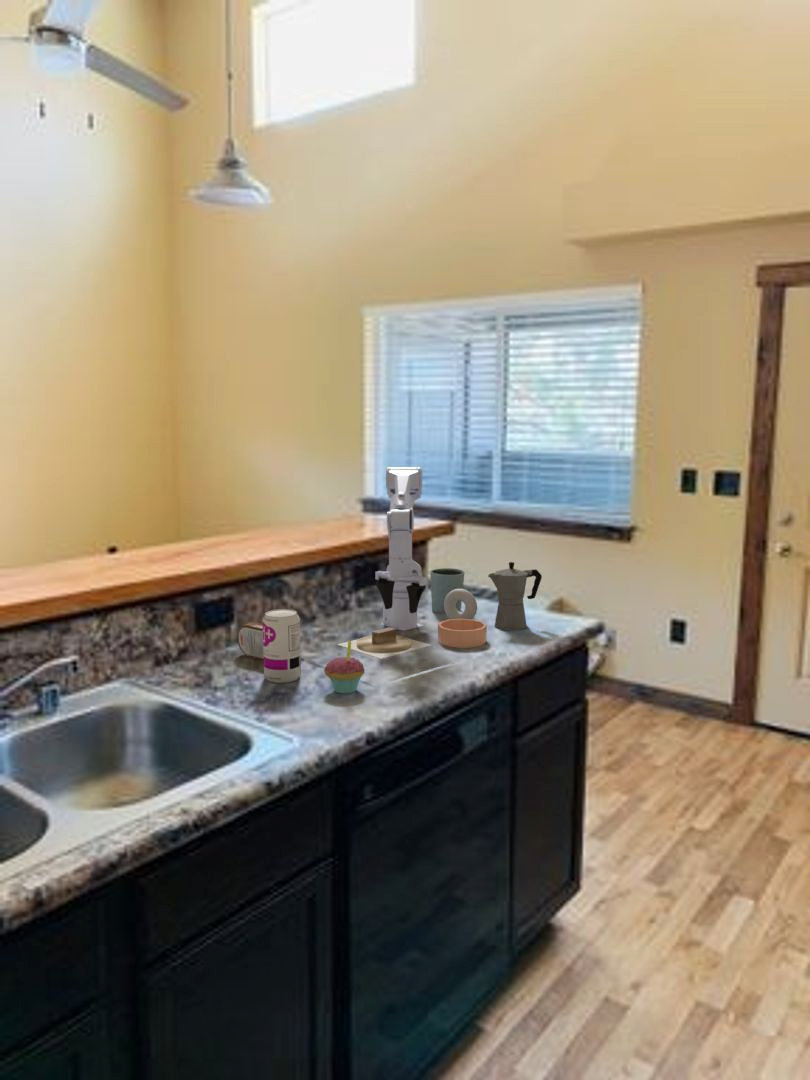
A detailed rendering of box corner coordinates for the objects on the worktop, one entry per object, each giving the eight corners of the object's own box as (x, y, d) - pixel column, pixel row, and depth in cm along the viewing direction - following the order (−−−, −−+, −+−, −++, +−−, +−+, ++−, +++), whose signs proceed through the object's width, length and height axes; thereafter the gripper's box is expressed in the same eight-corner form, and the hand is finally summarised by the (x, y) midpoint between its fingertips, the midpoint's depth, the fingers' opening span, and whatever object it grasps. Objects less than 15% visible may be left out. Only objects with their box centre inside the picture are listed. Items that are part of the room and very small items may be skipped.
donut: (479, 624, 239) (479, 589, 237) (474, 627, 236) (474, 591, 234) (447, 620, 244) (447, 585, 242) (441, 622, 241) (441, 588, 239)
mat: (336, 646, 217) (336, 644, 217) (387, 634, 229) (387, 632, 229) (381, 661, 205) (381, 658, 205) (431, 647, 216) (431, 645, 216)
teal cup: (431, 606, 260) (431, 567, 258) (464, 607, 259) (465, 568, 257) (429, 614, 250) (429, 574, 248) (463, 615, 249) (464, 574, 247)
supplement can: (271, 686, 187) (269, 619, 185) (259, 675, 194) (257, 611, 192) (306, 680, 191) (304, 614, 189) (293, 670, 198) (291, 607, 196)
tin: (289, 662, 204) (288, 628, 203) (279, 665, 202) (278, 631, 201) (245, 652, 213) (243, 619, 212) (235, 655, 211) (234, 621, 209)
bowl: (429, 643, 221) (429, 624, 220) (461, 634, 229) (461, 616, 228) (463, 653, 212) (463, 633, 211) (495, 643, 220) (495, 624, 219)
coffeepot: (493, 632, 231) (494, 566, 228) (482, 623, 240) (483, 560, 237) (547, 628, 234) (548, 563, 232) (534, 620, 243) (535, 557, 241)
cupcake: (372, 689, 185) (372, 635, 183) (343, 699, 178) (343, 643, 177) (345, 681, 190) (344, 628, 188) (316, 690, 184) (315, 636, 182)
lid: (345, 644, 217) (345, 629, 217) (386, 634, 227) (386, 620, 226) (381, 656, 207) (381, 641, 206) (423, 645, 216) (423, 630, 216)
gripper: (367, 556, 214) (368, 609, 216) (415, 562, 206) (415, 617, 208) (384, 552, 220) (384, 604, 222) (431, 558, 211) (431, 611, 214)
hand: (400, 610), depth 215 cm, fingers open, 7 cm apart
